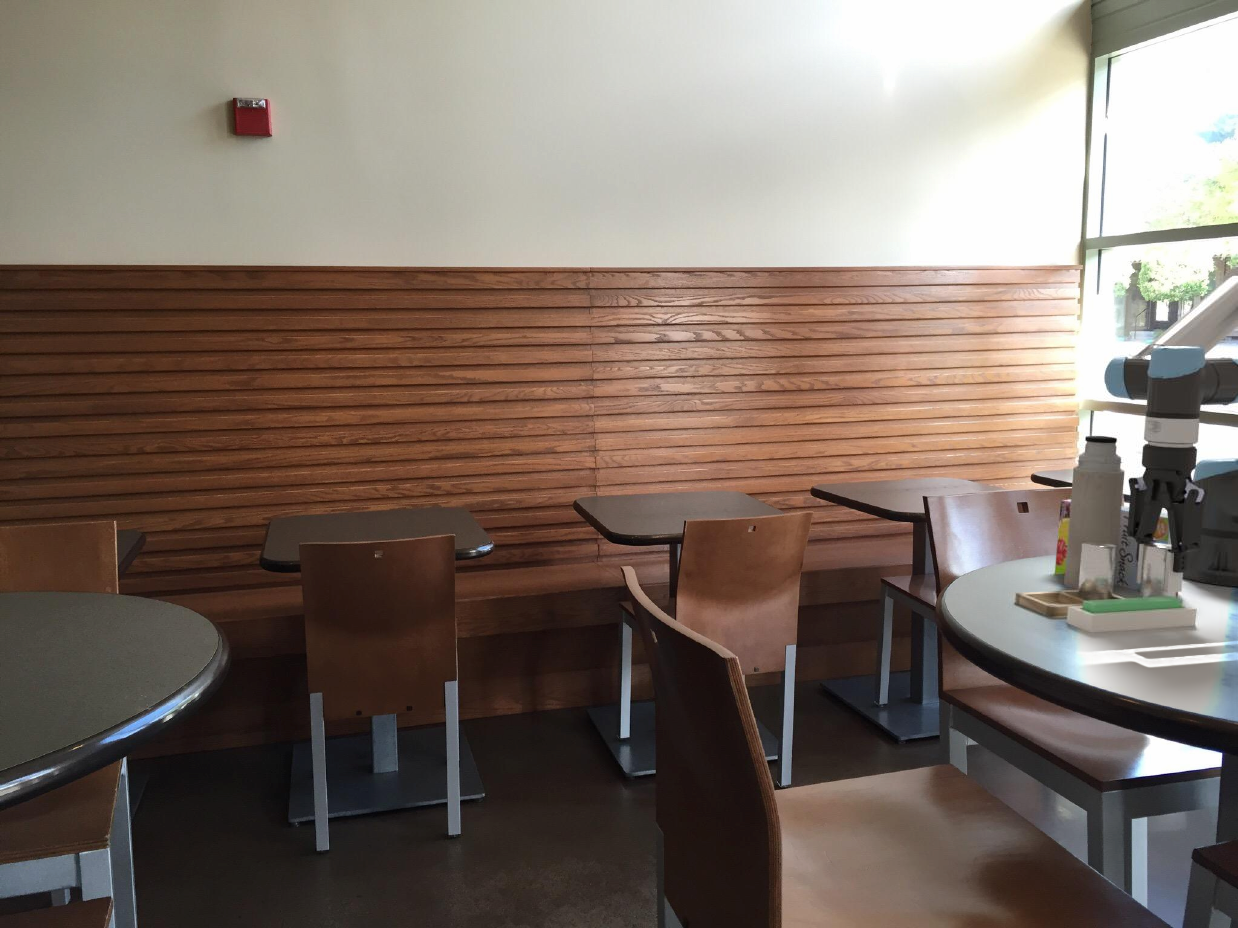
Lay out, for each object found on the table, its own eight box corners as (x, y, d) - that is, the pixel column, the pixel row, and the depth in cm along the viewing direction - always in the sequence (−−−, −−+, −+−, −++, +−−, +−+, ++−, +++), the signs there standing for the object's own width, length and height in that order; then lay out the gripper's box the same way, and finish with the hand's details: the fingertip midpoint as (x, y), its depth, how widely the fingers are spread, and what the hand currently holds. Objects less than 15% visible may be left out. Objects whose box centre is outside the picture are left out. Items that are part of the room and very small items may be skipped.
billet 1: (1095, 600, 161) (1100, 541, 159) (1118, 608, 156) (1123, 547, 154) (1070, 602, 159) (1075, 542, 158) (1092, 610, 154) (1097, 549, 153)
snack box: (1180, 601, 168) (1188, 515, 166) (1160, 605, 165) (1169, 517, 163) (1071, 574, 186) (1077, 496, 184) (1052, 577, 183) (1058, 498, 181)
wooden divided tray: (1092, 604, 164) (1094, 587, 163) (1138, 621, 154) (1140, 603, 154) (1011, 609, 159) (1012, 591, 159) (1053, 627, 150) (1054, 608, 149)
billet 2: (1157, 601, 160) (1162, 542, 159) (1181, 609, 155) (1186, 548, 154) (1132, 603, 159) (1136, 543, 158) (1155, 611, 154) (1160, 550, 153)
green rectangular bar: (1167, 620, 151) (1169, 595, 150) (1179, 625, 148) (1182, 599, 148) (1080, 626, 147) (1083, 600, 146) (1092, 631, 144) (1094, 605, 144)
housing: (1167, 625, 152) (1170, 600, 152) (1194, 634, 148) (1196, 609, 147) (1065, 631, 148) (1068, 606, 147) (1089, 641, 143) (1091, 615, 142)
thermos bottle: (1106, 590, 174) (1119, 435, 170) (1119, 601, 166) (1134, 439, 162) (1058, 587, 175) (1071, 433, 172) (1069, 598, 167) (1083, 437, 164)
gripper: (1108, 438, 161) (1098, 575, 164) (1197, 451, 144) (1185, 603, 147) (1145, 437, 163) (1135, 572, 166) (1238, 450, 146) (1224, 600, 149)
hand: (1158, 586), depth 157 cm, fingers closed on billet 2, 5 cm apart
